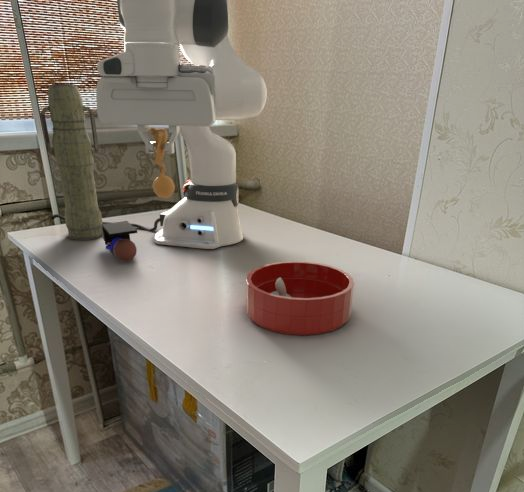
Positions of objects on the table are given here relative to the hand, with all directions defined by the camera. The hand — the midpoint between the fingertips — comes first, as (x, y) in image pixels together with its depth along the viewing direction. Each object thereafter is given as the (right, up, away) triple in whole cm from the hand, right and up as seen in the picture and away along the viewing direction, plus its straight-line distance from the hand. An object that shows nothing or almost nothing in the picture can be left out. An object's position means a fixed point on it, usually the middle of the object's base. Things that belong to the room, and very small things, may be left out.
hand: (160, 153), depth 91 cm
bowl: (+25, -29, 0) cm, 38 cm away
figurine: (+2, -7, +3) cm, 8 cm away
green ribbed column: (-28, -6, +42) cm, 50 cm away
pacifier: (+23, -28, 0) cm, 36 cm away
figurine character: (-15, -13, +28) cm, 35 cm away
